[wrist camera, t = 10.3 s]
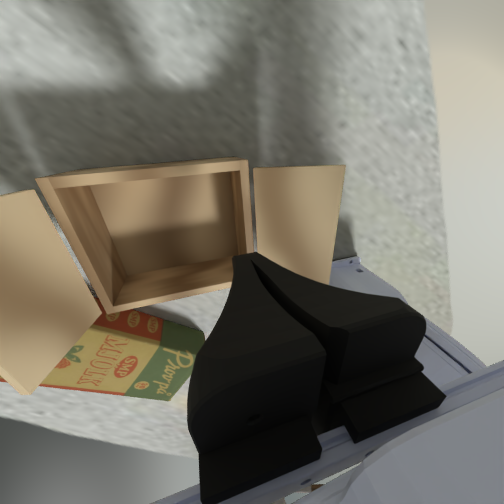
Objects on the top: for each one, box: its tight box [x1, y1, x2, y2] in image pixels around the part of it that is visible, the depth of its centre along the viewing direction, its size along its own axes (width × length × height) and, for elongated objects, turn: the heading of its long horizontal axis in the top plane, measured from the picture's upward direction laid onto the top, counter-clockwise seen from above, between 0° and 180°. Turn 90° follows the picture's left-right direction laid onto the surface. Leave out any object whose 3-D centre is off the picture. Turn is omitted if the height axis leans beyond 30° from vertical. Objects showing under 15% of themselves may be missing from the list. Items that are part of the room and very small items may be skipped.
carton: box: [0, 297, 205, 401], centre depth 22 cm, size 8×16×4 cm, turn 51°
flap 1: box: [0, 189, 102, 395], centre depth 11 cm, size 6×9×1 cm
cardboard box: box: [35, 157, 254, 314], centre depth 17 cm, size 12×10×5 cm
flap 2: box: [253, 165, 346, 285], centre depth 15 cm, size 6×9×1 cm
